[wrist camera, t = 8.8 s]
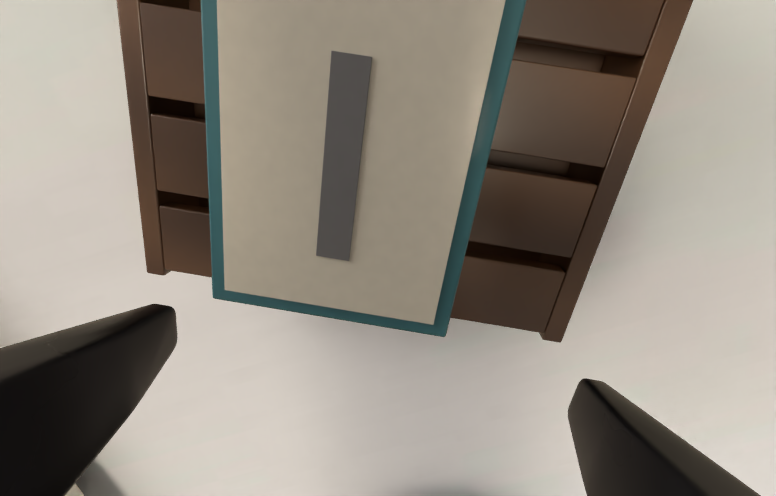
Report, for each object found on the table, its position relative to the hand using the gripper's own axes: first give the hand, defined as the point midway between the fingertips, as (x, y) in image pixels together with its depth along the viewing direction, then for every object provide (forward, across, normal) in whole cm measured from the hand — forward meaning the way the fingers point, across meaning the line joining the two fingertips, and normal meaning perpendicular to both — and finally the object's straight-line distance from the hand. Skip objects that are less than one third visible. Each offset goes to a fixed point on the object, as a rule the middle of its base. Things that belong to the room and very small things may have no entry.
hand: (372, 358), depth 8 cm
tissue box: (+7, +1, -4) cm, 8 cm away
